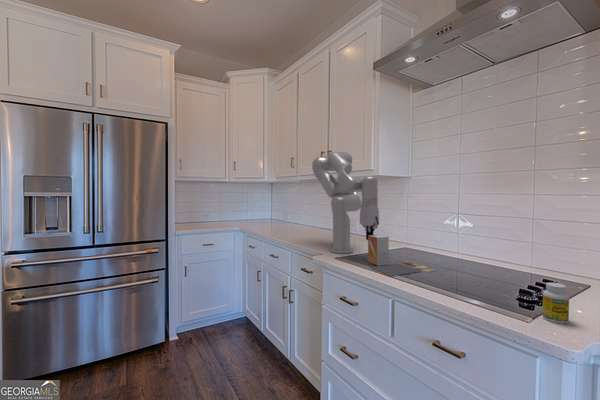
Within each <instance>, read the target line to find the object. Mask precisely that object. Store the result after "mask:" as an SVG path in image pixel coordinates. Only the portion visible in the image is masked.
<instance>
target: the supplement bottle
mask: <svg viewBox="0 0 600 400" xmlns="http://www.w3.org/2000/svg"><path fill="white" fill-rule="evenodd" d="M545 288H546V290H544V291H543V292H542V318H543V319H544V320H546V321H548V322H551V323H556V324H561V325H563V324H565V325H566V324H567V323H569V316H570V314H569V313H570V296H569V294H567V293H566V291H567V287H566V285H565V284H561V283H557V282H546V284H545Z"/></svg>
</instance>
